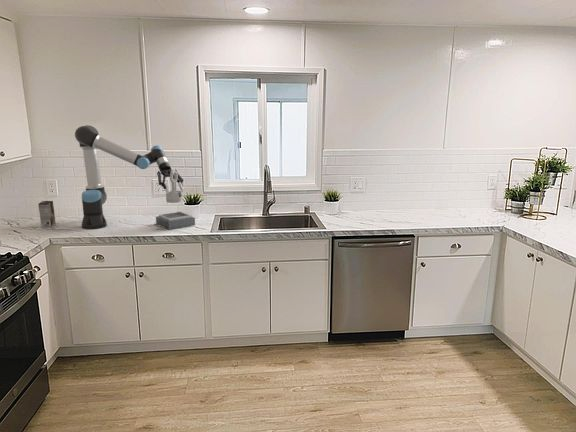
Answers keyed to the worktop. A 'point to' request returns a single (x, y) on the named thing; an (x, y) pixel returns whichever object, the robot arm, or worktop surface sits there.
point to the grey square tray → (175, 220)
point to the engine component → (174, 190)
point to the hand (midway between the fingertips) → (175, 191)
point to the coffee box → (47, 214)
